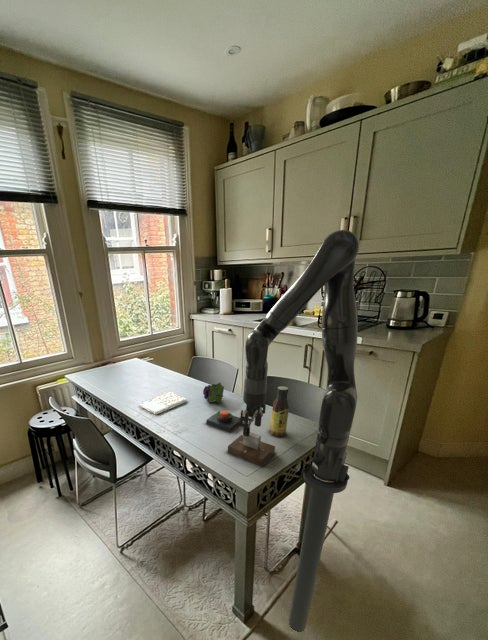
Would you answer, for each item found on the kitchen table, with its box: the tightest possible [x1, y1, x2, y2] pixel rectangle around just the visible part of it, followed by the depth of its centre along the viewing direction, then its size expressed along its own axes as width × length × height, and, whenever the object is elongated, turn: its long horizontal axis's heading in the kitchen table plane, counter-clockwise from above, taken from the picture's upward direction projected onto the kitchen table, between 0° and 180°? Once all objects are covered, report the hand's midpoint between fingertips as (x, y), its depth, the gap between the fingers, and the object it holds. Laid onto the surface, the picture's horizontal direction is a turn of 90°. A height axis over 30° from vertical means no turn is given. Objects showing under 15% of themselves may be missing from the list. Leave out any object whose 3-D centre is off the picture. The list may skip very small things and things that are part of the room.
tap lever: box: [242, 431, 262, 450], centre depth 114 cm, size 6×2×5 cm, turn 51°
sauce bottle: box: [269, 385, 290, 437], centre depth 125 cm, size 7×6×20 cm
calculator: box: [139, 391, 187, 415], centre depth 156 cm, size 13×20×2 cm, turn 132°
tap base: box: [227, 434, 276, 467], centre depth 116 cm, size 14×10×3 cm
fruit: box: [202, 382, 225, 404], centre depth 156 cm, size 10×11×15 cm
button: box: [220, 410, 230, 418], centre depth 135 cm, size 4×4×2 cm
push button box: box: [205, 410, 240, 433], centre depth 137 cm, size 12×10×4 cm
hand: (252, 430), depth 113 cm, fingers open, 8 cm apart
